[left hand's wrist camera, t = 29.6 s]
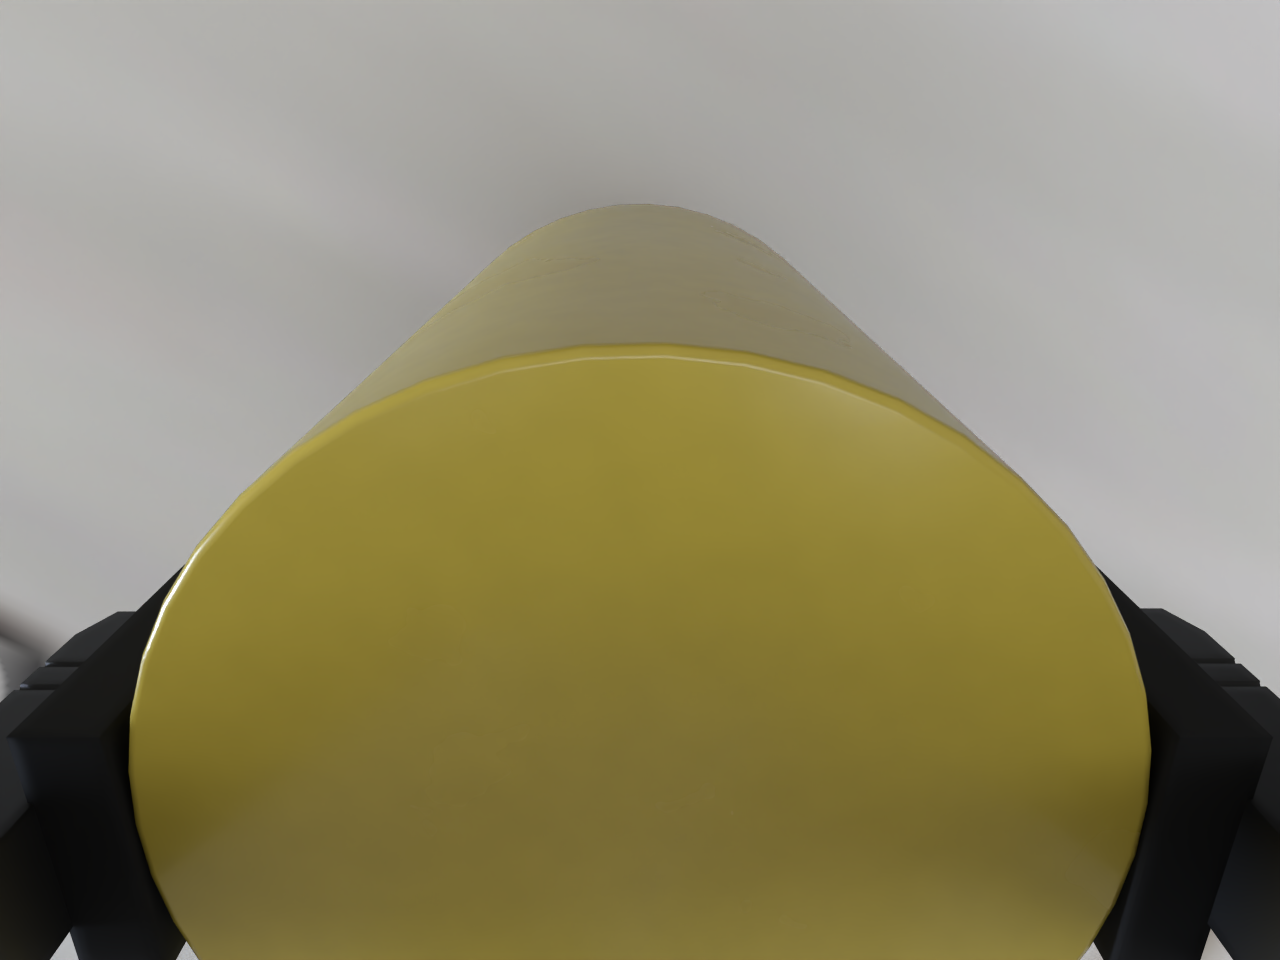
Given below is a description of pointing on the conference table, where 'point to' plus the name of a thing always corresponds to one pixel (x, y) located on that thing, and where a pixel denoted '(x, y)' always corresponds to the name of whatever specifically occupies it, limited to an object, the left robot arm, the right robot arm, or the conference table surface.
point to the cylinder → (639, 648)
